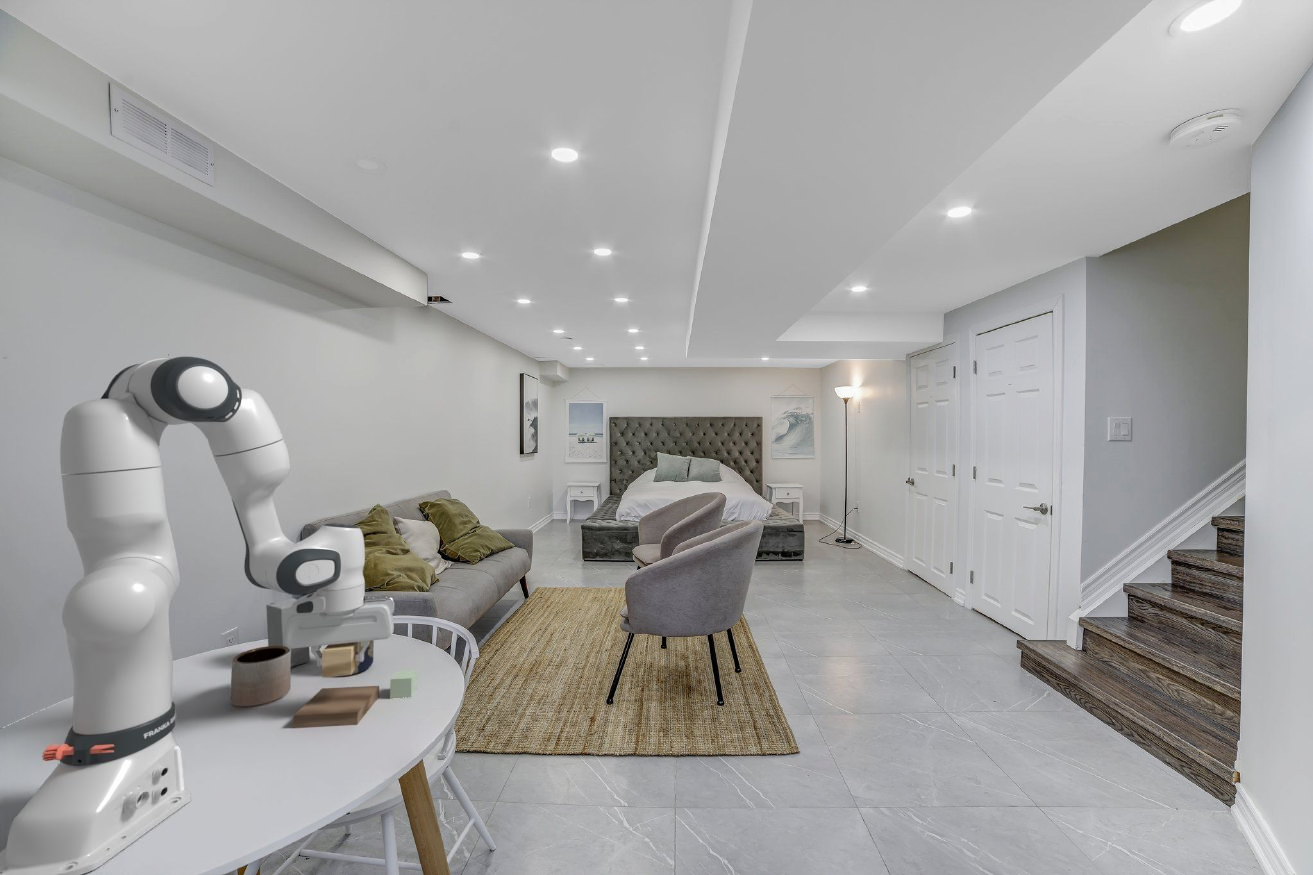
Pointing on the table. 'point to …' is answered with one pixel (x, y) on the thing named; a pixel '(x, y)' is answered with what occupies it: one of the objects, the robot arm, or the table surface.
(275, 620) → the skincare box
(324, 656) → the oak cube
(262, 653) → the planter
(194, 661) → the table surface
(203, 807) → the table surface
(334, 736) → the table surface
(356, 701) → the base plate
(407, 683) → the green cube
